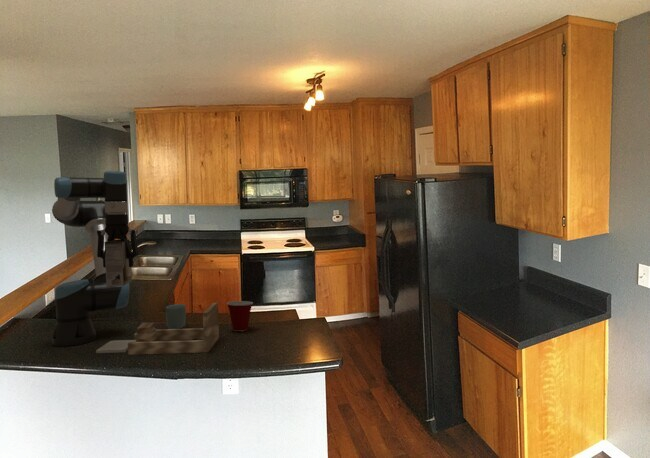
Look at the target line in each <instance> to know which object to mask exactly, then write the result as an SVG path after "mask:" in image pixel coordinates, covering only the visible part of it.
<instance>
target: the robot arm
mask: <svg viewBox="0 0 650 458" xmlns="http://www.w3.org/2000/svg"><path fill="white" fill-rule="evenodd" d="M127 184H128V180H127V173H126V172H125V171H121V170H120V171H119V170H118V171H117V170H109V171H108V170H106V171H105V172H104V173H103V177H74V176H73V177H68V176H62V177H61V176H60V177H56V178H55V179H54V185H53V186H54V188H53V189H54V196H55V197H56V198H57V200H56V201H55V202H54V203H53V205H52V209H51V212H52V215H53V217H54V218H55V220H56V221H58V222H59V223H61V224H62V225H65V226H69V227H73V228H78V227H79V228H81V227H84V230H85V232H87V233H88V234H89V236H90V245H91V251H92V256H93V263H94V264H93V265H94V271H95V277H93V279H92V282H90V281H89V279H77V280H71V281H68V282H65V283H62V284H61V283H60V284H59V285H58V286H56V287H55V290H54V293H55V294H54V300H55V319H56V321H55V323H56V324H55V327H54V331H53V334H52V336H51V345H52V346H56V347H69V346H77V345H83V344H86V343H90V342H93V341H94V340H96V339H97V332H96V330H95V327H94V325H93V322H92V320H91V313H94V312H101V311H108V310H110V311H111V310H118V309H122V308H126V307H127V306H128V304H129V301H130V300H129V299H130V288H131V287H130V282H129V283H128V284H126V285H124V286H106V264H105V242H107V241H113V240H121V241H125V244H126V253H127V256H128V258H127V259H126V274H127V276H131V277H132V268H133V267H134V259H135V257H138V256H139V255H140V254H139V253H140V252H139V249H138V240H137V233H138V230H137V229H131V228H130V227H129V215H128V214H127V213H128V194H127V193H128V191H127V190H128V189H127V186H128V185H127ZM82 199H100V200H82ZM102 199H104V200H102ZM128 234H129V235H130V245H129V243H128V240H129V238H128V236H127V235H128Z"/></svg>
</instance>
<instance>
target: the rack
mask: <svg viewBox="0 0 650 458" xmlns="http://www.w3.org/2000/svg"><path fill="white" fill-rule="evenodd" d="M202 324H203V325H202V327H199V328H198V327H197V328H196V327H195V328H194V327H193V328H192V327H191V328H182V329H169V328H167V329H165V328H164V329H156V337H157V338H158V341H154V342H129V343H128V350H127V355H129V356H132V355H134V356H136V355H160V354H161V355H162V354H166V355H167V354H168V355H169V354H192V353H193V354H194V353H197V354H198V353H199V354H200V353H209V352H210V351H211V350H212V348H213V347H214V345H215V344H216V342H217V341H218V340H219V339H220V330H219V329H220V328H219V327H220V326H219V324H220V323H219V302H213V303H211V304H210V306H209V307H207V309H205V310H204V311H203V312H202ZM193 339H197V340H193Z"/></svg>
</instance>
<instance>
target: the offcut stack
mask: <svg viewBox="0 0 650 458" xmlns="http://www.w3.org/2000/svg"><path fill="white" fill-rule="evenodd" d="M155 325H156V324H155V322H154V321H153V322H142V323H141V324H140V325H139V326H138V327H136V332H135V333H134V334H133V340H136V342H154V341H158V338H157V337H156V330H157V328H156V327H155Z"/></svg>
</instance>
